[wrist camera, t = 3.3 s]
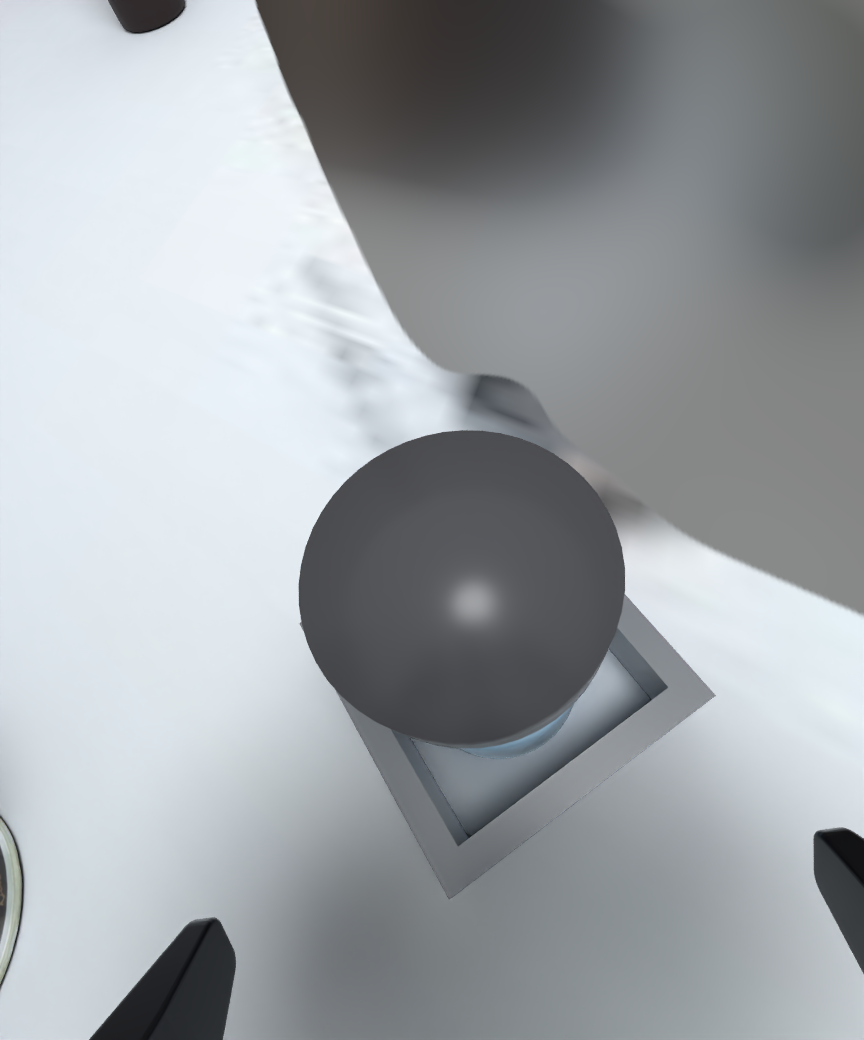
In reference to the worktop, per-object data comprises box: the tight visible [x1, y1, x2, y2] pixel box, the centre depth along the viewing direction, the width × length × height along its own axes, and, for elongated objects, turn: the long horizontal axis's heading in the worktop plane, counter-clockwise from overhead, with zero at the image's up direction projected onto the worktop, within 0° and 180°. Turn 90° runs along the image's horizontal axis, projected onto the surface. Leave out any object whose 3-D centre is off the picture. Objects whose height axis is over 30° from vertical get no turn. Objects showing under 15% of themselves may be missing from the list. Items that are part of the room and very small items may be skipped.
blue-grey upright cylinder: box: [299, 430, 625, 759], centre depth 17 cm, size 7×7×12 cm
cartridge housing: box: [300, 594, 716, 899], centre depth 21 cm, size 10×10×3 cm
